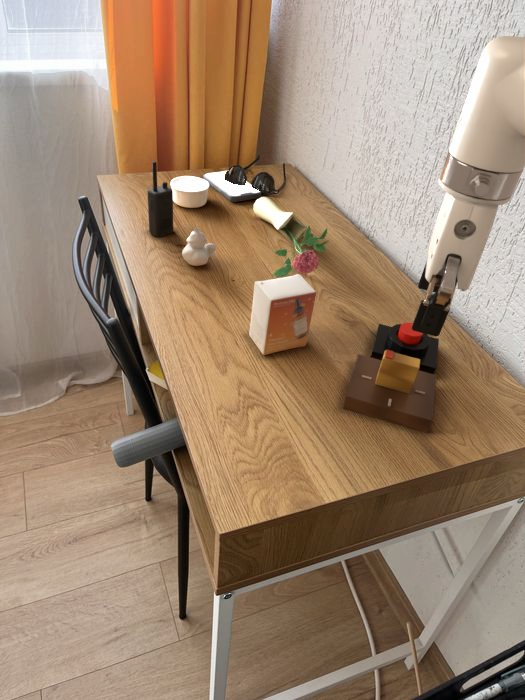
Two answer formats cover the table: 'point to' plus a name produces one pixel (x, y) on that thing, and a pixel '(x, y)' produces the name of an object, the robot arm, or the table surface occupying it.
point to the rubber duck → (198, 249)
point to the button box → (406, 347)
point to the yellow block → (397, 371)
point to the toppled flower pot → (291, 236)
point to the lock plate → (390, 397)
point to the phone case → (231, 187)
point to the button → (409, 334)
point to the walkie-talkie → (160, 207)
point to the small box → (281, 313)
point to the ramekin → (189, 191)
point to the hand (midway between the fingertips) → (427, 310)
